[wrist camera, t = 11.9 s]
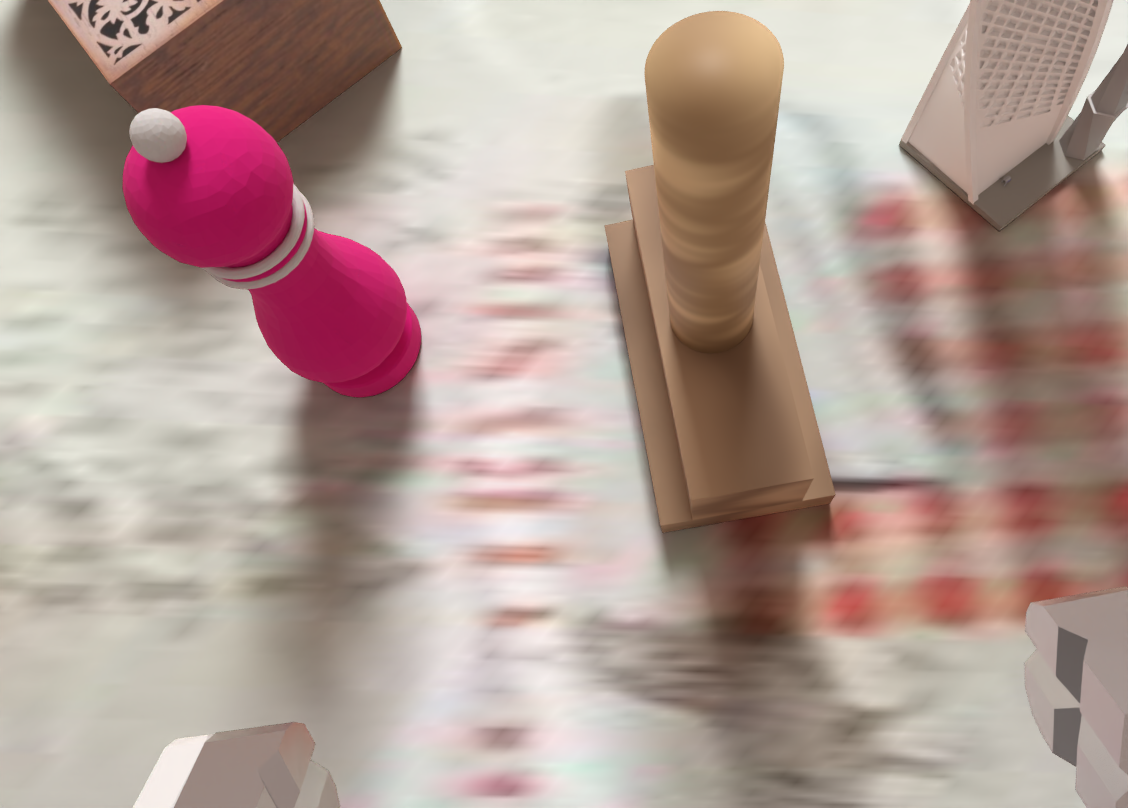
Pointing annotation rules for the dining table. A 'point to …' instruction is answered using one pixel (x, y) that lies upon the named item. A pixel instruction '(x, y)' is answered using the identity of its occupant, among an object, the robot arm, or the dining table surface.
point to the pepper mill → (268, 247)
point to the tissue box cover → (233, 52)
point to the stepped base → (714, 391)
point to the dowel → (713, 168)
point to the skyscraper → (1016, 103)
